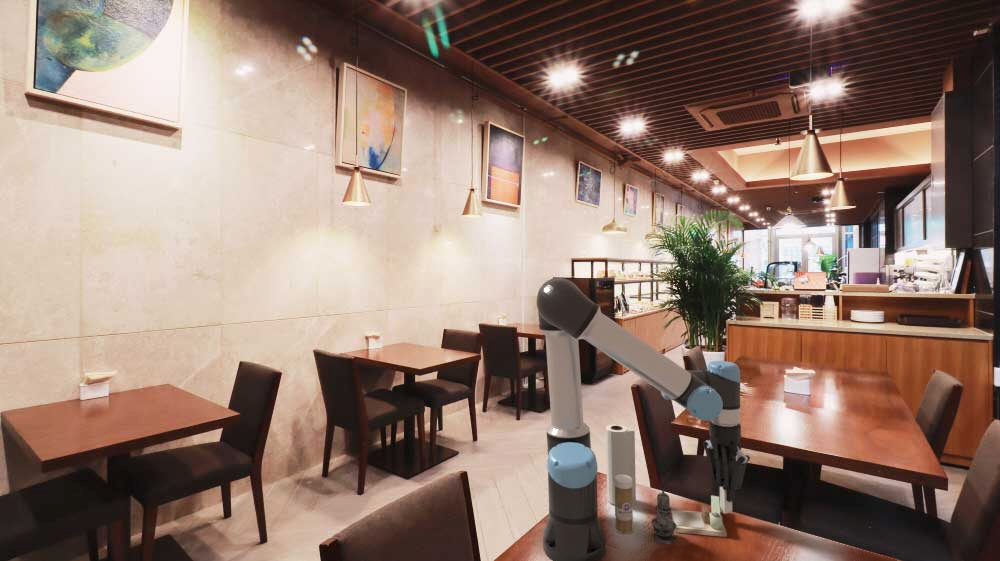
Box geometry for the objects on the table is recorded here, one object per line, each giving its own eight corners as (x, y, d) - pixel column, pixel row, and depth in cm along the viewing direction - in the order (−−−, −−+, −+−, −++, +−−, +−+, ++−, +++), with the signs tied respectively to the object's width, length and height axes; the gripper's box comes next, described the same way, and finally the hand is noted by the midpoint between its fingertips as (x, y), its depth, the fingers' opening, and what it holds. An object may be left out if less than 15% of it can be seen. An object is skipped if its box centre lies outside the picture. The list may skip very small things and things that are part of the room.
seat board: (675, 532, 119) (674, 515, 118) (670, 513, 127) (670, 498, 127) (726, 537, 116) (726, 520, 116) (718, 517, 125) (718, 502, 124)
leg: (722, 529, 116) (722, 517, 116) (710, 527, 117) (709, 515, 117) (720, 505, 128) (720, 494, 128) (709, 504, 129) (709, 493, 129)
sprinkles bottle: (621, 536, 118) (620, 483, 117) (611, 526, 122) (610, 475, 122) (637, 532, 119) (636, 479, 119) (626, 522, 124) (625, 472, 123)
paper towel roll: (603, 498, 137) (601, 425, 136) (620, 494, 139) (618, 422, 138) (618, 510, 130) (617, 433, 129) (636, 505, 132) (634, 430, 132)
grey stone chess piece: (678, 545, 113) (677, 496, 113) (653, 543, 114) (652, 495, 114) (674, 532, 119) (673, 485, 118) (650, 530, 120) (649, 483, 120)
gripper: (757, 427, 117) (758, 519, 118) (714, 412, 129) (716, 497, 130) (735, 432, 114) (737, 527, 115) (694, 417, 126) (696, 503, 127)
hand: (726, 511), depth 123 cm, fingers closed
